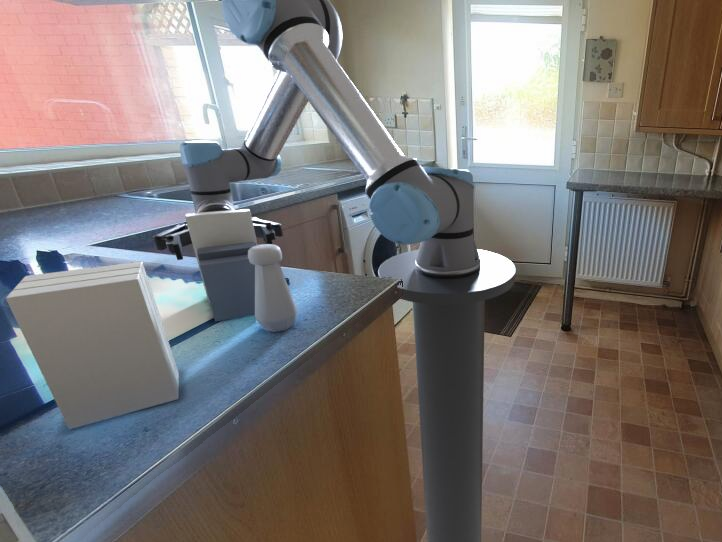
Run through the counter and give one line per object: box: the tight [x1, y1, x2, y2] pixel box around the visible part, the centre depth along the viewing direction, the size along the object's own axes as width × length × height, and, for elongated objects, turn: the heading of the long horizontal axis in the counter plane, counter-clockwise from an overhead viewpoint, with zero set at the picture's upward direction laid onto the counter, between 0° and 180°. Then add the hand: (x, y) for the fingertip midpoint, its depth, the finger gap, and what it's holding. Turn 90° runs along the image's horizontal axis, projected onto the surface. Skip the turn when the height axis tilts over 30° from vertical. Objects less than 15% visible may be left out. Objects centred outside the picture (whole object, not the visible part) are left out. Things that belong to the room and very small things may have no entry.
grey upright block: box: [197, 242, 258, 323], centre depth 67 cm, size 8×8×10 cm
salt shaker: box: [248, 243, 298, 333], centre depth 62 cm, size 6×6×13 cm
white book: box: [184, 208, 258, 302], centre depth 71 cm, size 9×2×15 cm, turn 127°
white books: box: [5, 261, 180, 430], centre depth 44 cm, size 9×6×15 cm
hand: (226, 246), depth 73 cm, fingers open, 13 cm apart
